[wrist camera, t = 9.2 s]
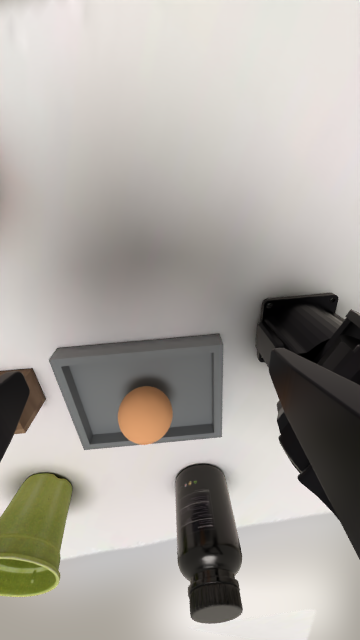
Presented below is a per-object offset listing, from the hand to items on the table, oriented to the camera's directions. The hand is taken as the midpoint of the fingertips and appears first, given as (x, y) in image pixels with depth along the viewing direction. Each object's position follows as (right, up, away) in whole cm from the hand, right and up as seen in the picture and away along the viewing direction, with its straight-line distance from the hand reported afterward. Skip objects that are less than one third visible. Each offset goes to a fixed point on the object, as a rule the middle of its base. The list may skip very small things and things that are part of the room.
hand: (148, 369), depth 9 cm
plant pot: (-16, -20, +23) cm, 34 cm away
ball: (-2, -7, +13) cm, 15 cm away
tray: (-2, -5, +16) cm, 17 cm away
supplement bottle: (+4, -20, +24) cm, 31 cm away
